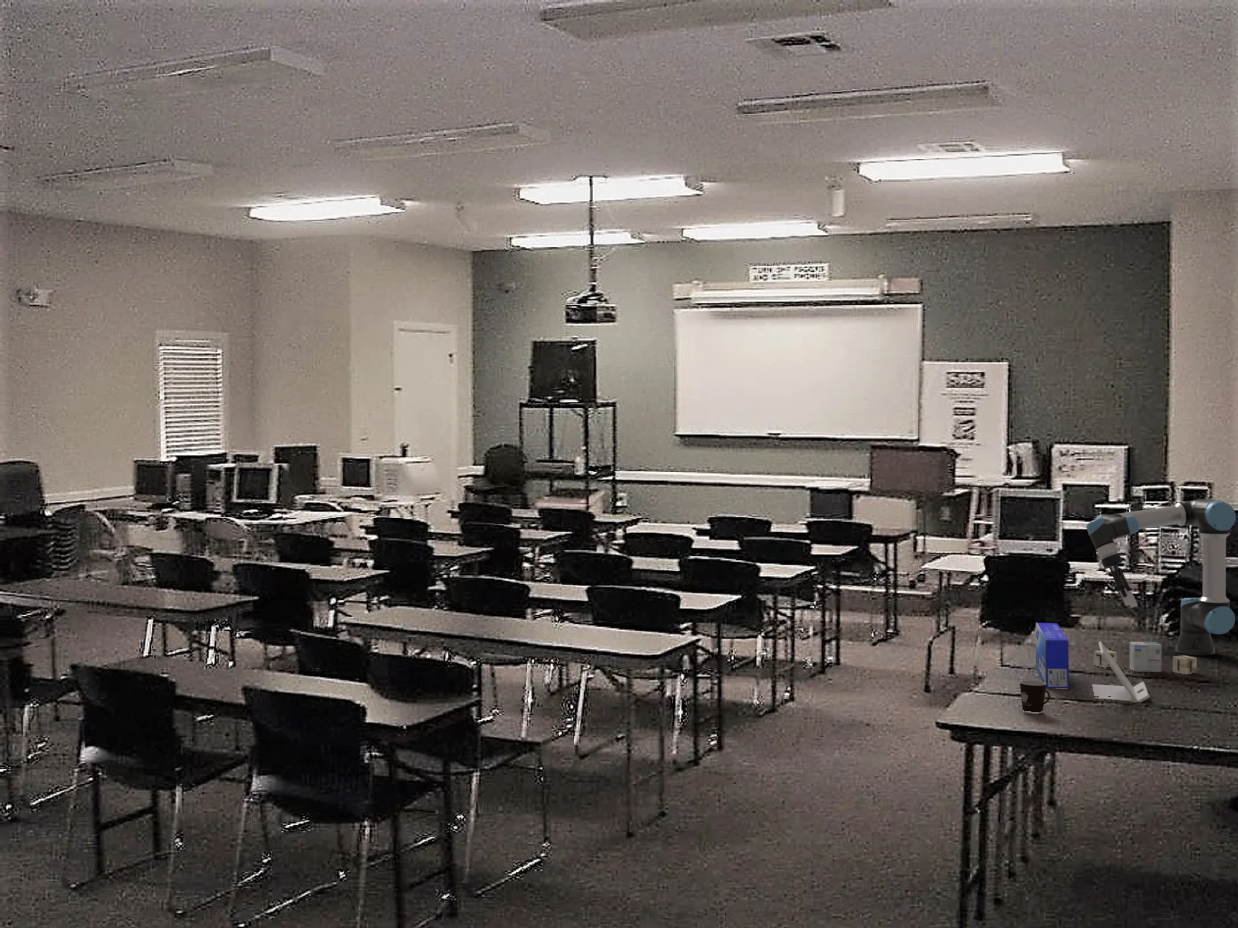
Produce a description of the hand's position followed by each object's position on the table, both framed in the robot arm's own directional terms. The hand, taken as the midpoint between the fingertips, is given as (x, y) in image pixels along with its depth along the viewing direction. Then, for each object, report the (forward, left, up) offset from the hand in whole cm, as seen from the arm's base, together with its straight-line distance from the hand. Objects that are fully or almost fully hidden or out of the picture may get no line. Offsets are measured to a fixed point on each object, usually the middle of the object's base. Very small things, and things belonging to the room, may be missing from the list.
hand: (1131, 605), depth 532 cm
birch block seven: (+11, -3, -24) cm, 26 cm away
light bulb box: (+2, +9, -24) cm, 26 cm away
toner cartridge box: (+47, +9, -24) cm, 54 cm away
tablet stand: (+43, +40, -24) cm, 63 cm away
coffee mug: (+92, +53, -24) cm, 109 cm away
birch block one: (-9, +18, -24) cm, 32 cm away
